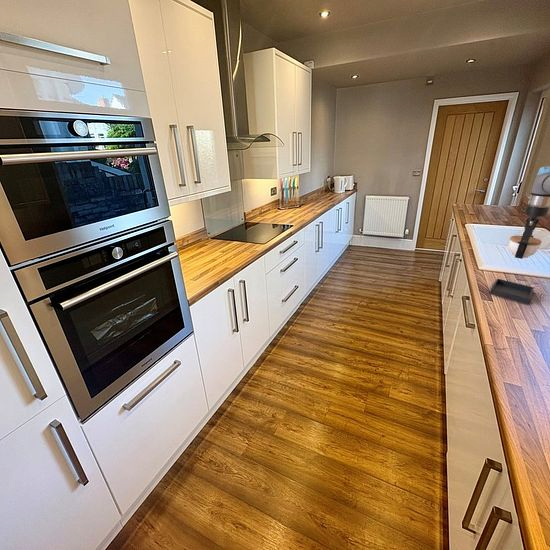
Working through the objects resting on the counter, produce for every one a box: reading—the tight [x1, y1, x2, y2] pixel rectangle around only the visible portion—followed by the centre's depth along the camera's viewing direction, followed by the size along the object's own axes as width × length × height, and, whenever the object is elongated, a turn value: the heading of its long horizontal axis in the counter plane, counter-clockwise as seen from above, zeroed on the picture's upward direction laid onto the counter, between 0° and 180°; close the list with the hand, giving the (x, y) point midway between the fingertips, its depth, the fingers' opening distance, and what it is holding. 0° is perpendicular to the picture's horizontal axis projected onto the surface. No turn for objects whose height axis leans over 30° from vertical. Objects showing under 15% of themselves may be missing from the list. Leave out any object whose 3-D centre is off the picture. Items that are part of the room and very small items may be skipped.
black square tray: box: [489, 278, 535, 305], centre depth 130 cm, size 14×14×2 cm
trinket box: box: [508, 235, 542, 259], centre depth 129 cm, size 11×11×9 cm
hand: (520, 254), depth 131 cm, fingers closed on trinket box, 11 cm apart
